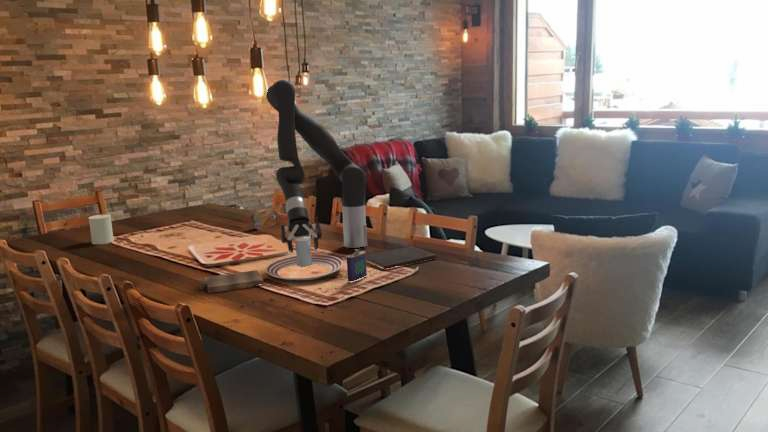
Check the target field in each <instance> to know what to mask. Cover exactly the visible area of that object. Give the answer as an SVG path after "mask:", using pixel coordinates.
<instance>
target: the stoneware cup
mask: <svg viewBox="0 0 768 432" xmlns="http://www.w3.org/2000/svg"><path fill="white" fill-rule="evenodd" d="M311 240H312V239H311V237H310V236H308V235H302V236H297V237H296V236H295V237H294V242H295V252H296V254H295V256H297V266H300V267H306V266H310V265H312V259H311V254H312V245H311V243H312V242H311Z"/></svg>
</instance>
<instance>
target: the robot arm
mask: <svg viewBox="0 0 768 432" xmlns="http://www.w3.org/2000/svg"><path fill="white" fill-rule="evenodd" d="M267 91H268V92H267ZM266 92H267V95H266V94H265V96H266V100H267V102H268V103H269V105H270V106H271V107H272V108H273V109H274V110H276V112H278V125H277V127H278V128H277V136H276V140H277V141H276V142H277V151H278V157H279V160H280V161H282V162H289V163H291V164H292V165H293V166H284V167H283V166H282V167H279V168H278V169H277V171H276V172H275V173H276V175H275V178H276V180H277V183H278V185H279V187H280V189H281V190H282V193H283V194H284V201H285V212H286V215H287V216H286V217H287V221H288V225H287V226H286V225H284V224H282V225H280V238H281V243H283V244H284V243H285V244H286V245H287V248H288V252H290V253H294V246H293V240H295V237H297V236H302V235H308V236H310V237H311V239H310V240H312V241H313V247H314V250H315V251H316V250H318V249H319V240H321V239H322V236H323V232H322V230H321V229H322V228H321V226H320V223H319V222H318V221H316V222H315V223H311V221H310V217H309V211H308V205H307V203H306V200H305V195H304V194H305V193H304V190H303V188H302V187H301V186H300V185H302V184H303V183H304V181H305V179H306V173H305V170H304V169H303V166H302V164H301V162H300V159H299V155H298V146H297V137H296V132H297V133H298V135H300V137H301V138H302V139H303V141H305V142H306V144H307V145H308V146H309V147H310V148H311V149H312V150H313V151H314V152H315V154H317V155H318V156H319V157H320V158H321V159H322V160H323V161H325V162H326V163H327V164H328V165H329V167H331V169H332V170H333V171H334V173H335V174H336V175H337V177H338V178H339V180H340V182H341V189H342V191H341V192H342V193H341V194H342V197H341V198H342V199H341V208H342V210H341V211H342V228H343V229H342V230H343V247H344V246H345V247H348V248H357V247H363V246H367V247H368V231H367V230H368V229H367V222H366V221H367V218H366V217H367V216H366V198H367V196H366V177H365V172H364V171H363V169H362V168H361V167H359V165H357V164H355V163H354V162H353V161H352V160H351V159H350V158H349V157H348V156H347V155H346V154H345V153H344V152H343V151H342V149H341V148H340V146H339V145H338V143H337V141H336V140H335V138H334V137H333V136H332V134H331V133H330V132H329V131H328V130H327V128H326V127H325V126H324V125H323V124H322V122H320V121H319V120H317V119H316V118H315V117H313V116H312V115H309V114H307V113H306V112H305V111H304V110H302V109H301V108H300V107H299V106H298V105H297V104H296V90H295V85H293V83H292V82H290V81H289V80H287V79H281V80H278V81H276V82H274V83H273V84H272V85H271V86H270V87H268V88H267V90H266ZM312 228H313V229H312ZM313 230H314V231H315V232H316V233H315V232H314V231H313ZM287 231H289V236H288V237H286V234H287ZM345 247H344V248H345ZM348 248H347V249H348Z"/></svg>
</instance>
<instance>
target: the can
mask: <svg viewBox="0 0 768 432" xmlns="http://www.w3.org/2000/svg"><path fill="white" fill-rule="evenodd" d="M111 217H112V215H111V214H105V213H103V214H96V215H91V216H89V217H88V218H87V219H88V223H89V231H90V238H91V244H92V245H106V244H111V243H113V242H115V238H114V233H113V225H112V224H113V223H112V218H111ZM110 242H111V243H110Z"/></svg>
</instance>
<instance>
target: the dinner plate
mask: <svg viewBox="0 0 768 432" xmlns="http://www.w3.org/2000/svg"><path fill="white" fill-rule="evenodd" d="M311 259H312V264H313V265H314V264H318V265H320V264H321V265H322V266H323V265H324V266H325V265H326V266H328V267H329V268H331V270H330V271H329V272H328V273H326V274H324V275H320V276H315V277H309V278H283V277H281V276H280V275H279V274H278V271H280V270H281V269H283V268H286V267H289V266H294V265H297V256H296V255H291V256H287V257H283V258H280V259H277V260H275V261H272V262H271V263H269V264H268V265H267V266H266V268H265V273H266V274H267V275H268V276H271V277H273V278H278V279H280V280H286V281H292V280H306V281H312V280H311V279H314V280H317V278H318V279H322V278H325V277H328V276H330V275H332V274H334V273H336V272H338V271H339V270H340V269H342V267H343V266H344V261H343V260H342V258H339V257H337V256H334V255H328V254H316V253H314V254H312V253H311ZM321 277H322V278H321Z"/></svg>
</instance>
